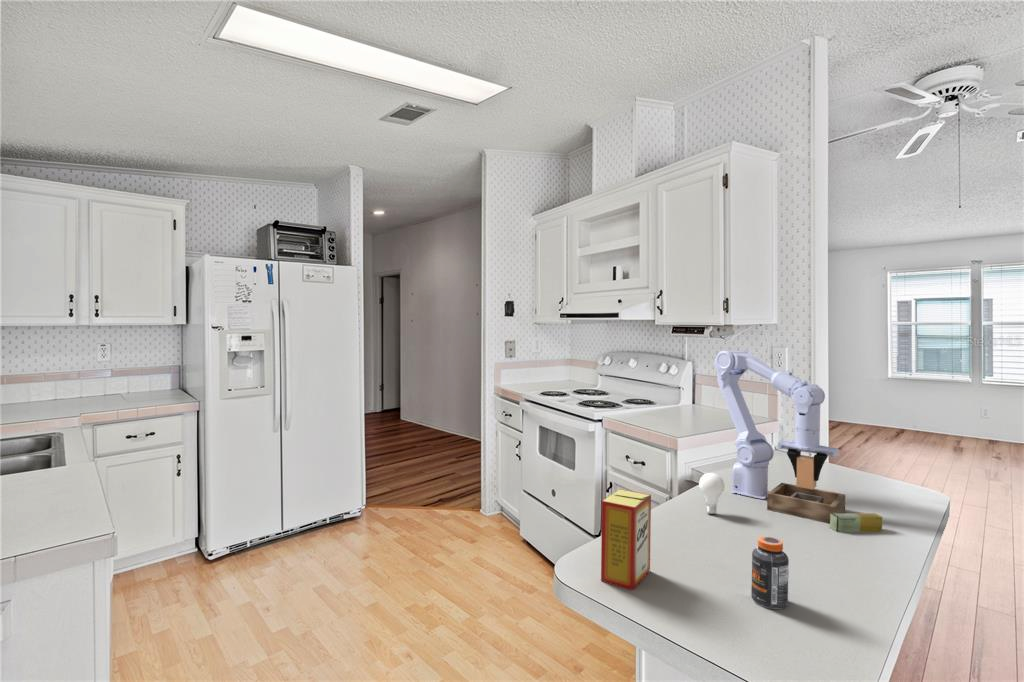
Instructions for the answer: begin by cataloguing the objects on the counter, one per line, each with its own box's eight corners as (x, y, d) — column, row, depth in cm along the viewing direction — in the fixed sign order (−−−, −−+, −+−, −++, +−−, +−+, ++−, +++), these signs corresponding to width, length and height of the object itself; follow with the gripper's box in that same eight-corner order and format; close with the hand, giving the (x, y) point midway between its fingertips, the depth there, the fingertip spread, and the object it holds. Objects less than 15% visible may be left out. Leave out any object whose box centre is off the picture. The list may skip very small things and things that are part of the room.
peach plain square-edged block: (796, 486, 142) (796, 457, 142) (800, 483, 145) (800, 454, 145) (812, 489, 139) (813, 459, 139) (816, 486, 142) (816, 457, 142)
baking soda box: (633, 590, 97) (634, 505, 97) (601, 581, 101) (602, 499, 101) (649, 571, 105) (651, 492, 105) (619, 563, 109) (620, 487, 108)
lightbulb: (698, 516, 137) (698, 474, 137) (699, 508, 143) (699, 468, 143) (724, 519, 134) (724, 477, 134) (724, 511, 140) (724, 471, 140)
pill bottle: (744, 593, 96) (745, 533, 96) (775, 592, 97) (776, 532, 97) (762, 611, 90) (764, 546, 90) (795, 609, 91) (796, 545, 91)
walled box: (767, 509, 142) (767, 493, 142) (781, 497, 153) (781, 482, 153) (834, 524, 132) (834, 507, 132) (845, 510, 142) (845, 494, 142)
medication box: (835, 533, 127) (836, 516, 127) (828, 528, 130) (829, 512, 129) (882, 532, 128) (883, 516, 127) (874, 528, 130) (875, 512, 130)
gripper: (774, 427, 144) (773, 476, 144) (835, 434, 134) (834, 487, 134) (781, 424, 149) (781, 471, 149) (840, 431, 139) (839, 481, 139)
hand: (806, 478), depth 142 cm, fingers closed on peach plain square-edged block, 4 cm apart
